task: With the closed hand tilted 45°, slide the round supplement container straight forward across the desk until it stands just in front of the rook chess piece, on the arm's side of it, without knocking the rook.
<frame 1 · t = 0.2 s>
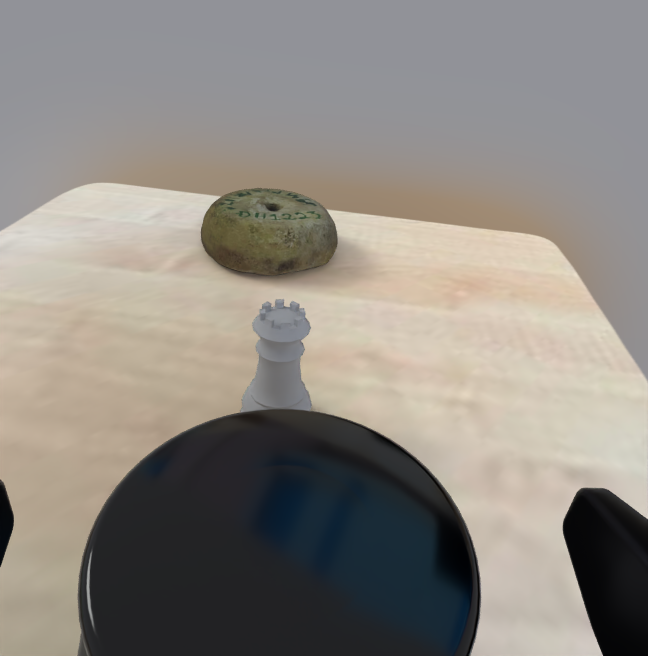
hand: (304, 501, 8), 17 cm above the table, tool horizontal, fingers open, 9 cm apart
rook chess piece: (275, 421, 34), on the table
weight: (269, 251, 55), on the table
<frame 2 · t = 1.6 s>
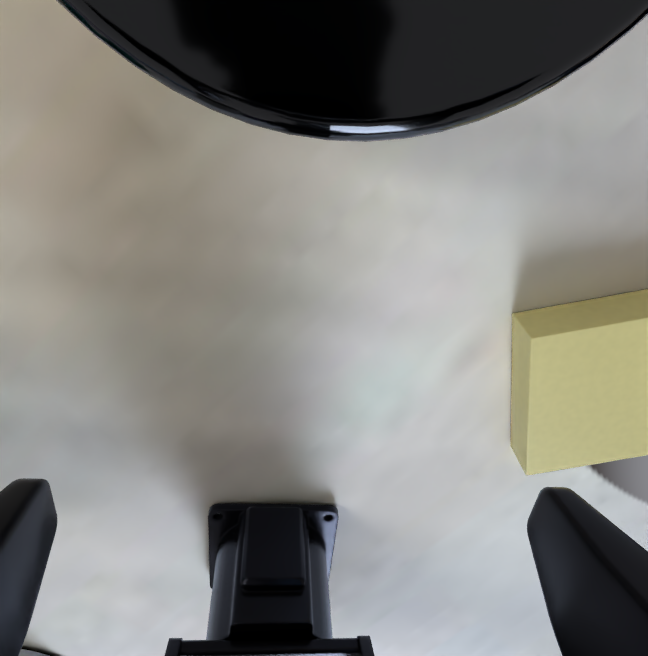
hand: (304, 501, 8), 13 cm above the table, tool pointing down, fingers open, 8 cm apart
sticky notes: (594, 369, 24), on the table
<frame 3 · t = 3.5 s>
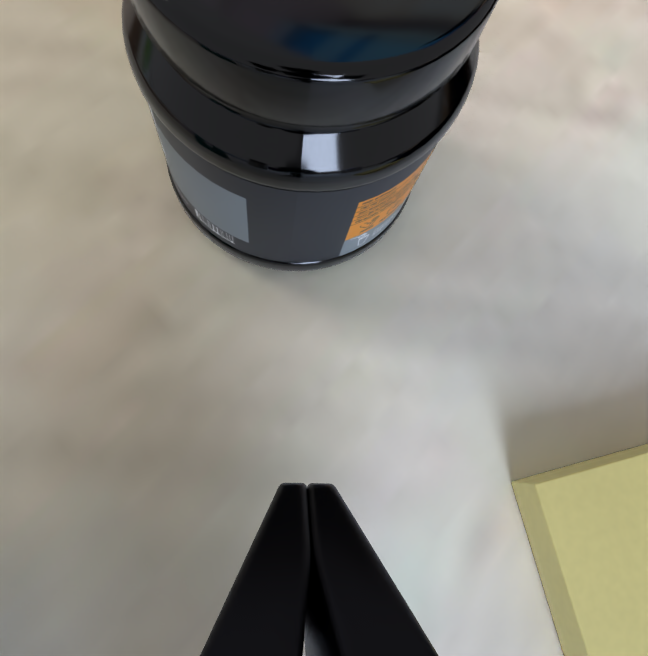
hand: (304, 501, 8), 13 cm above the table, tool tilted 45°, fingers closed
sticky notes: (625, 552, 22), on the table
supplement container: (291, 170, 24), on the table
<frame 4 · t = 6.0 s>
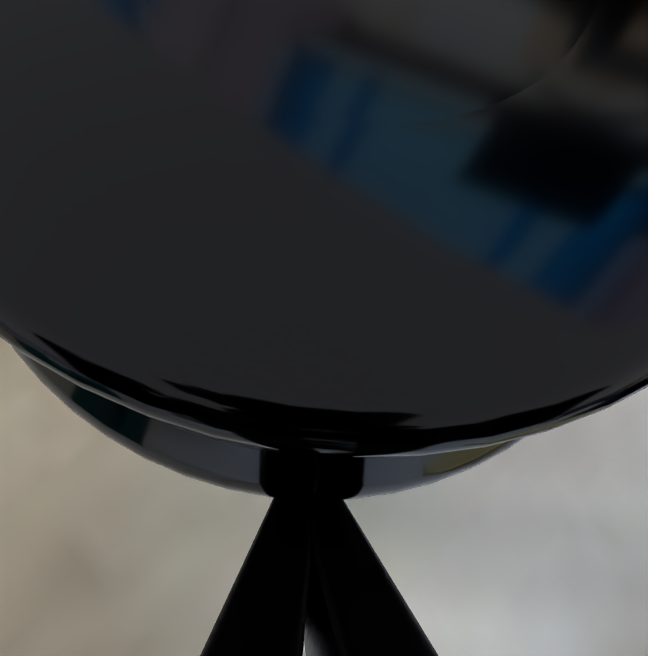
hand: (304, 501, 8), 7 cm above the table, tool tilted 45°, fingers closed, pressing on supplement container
supplement container: (293, 302, 16), on the table, touching gripper
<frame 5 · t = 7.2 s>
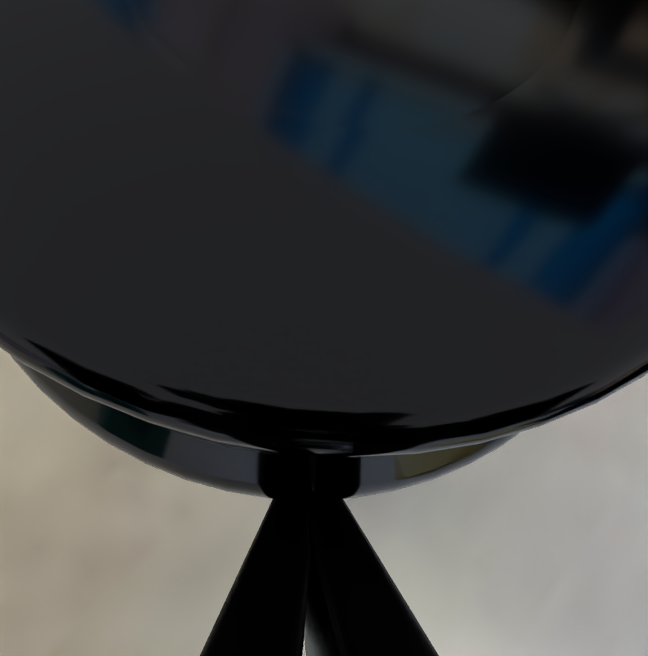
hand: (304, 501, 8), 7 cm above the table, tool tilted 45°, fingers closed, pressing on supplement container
supplement container: (288, 304, 17), on the table, touching gripper
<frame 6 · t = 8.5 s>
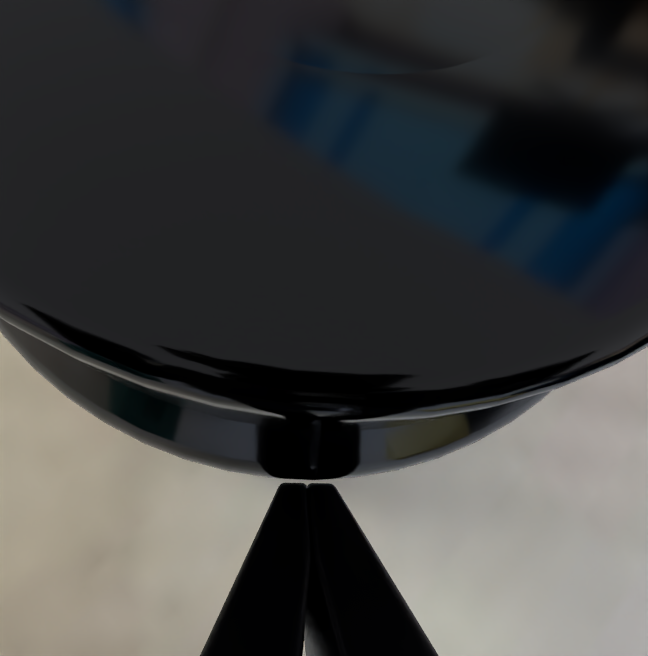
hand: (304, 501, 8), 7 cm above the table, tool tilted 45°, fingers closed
supplement container: (288, 290, 16), on the table
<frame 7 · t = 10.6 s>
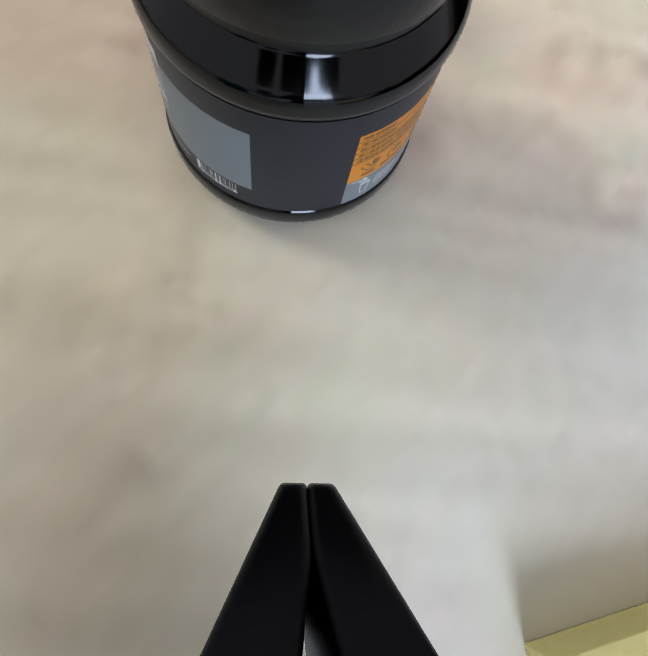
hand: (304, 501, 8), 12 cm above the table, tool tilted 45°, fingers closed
supplement container: (289, 127, 24), on the table
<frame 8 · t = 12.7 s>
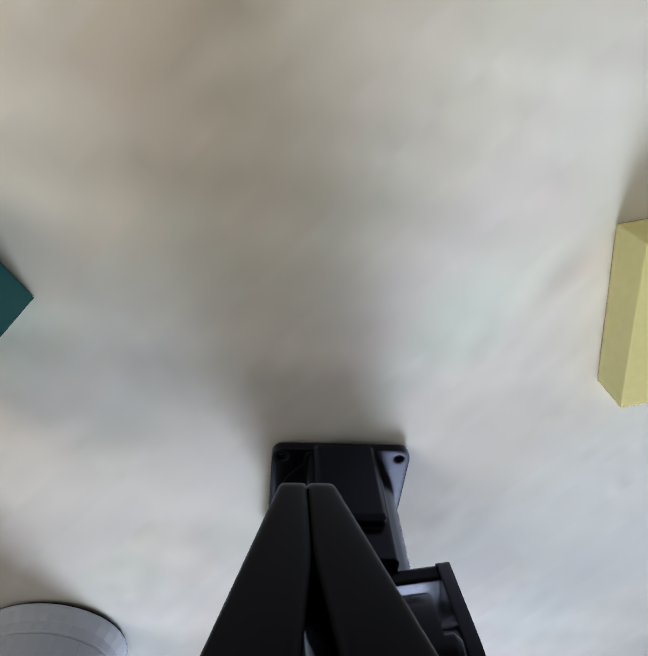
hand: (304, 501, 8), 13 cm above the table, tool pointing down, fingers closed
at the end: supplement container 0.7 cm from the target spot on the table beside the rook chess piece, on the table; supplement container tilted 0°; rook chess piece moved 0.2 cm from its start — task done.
